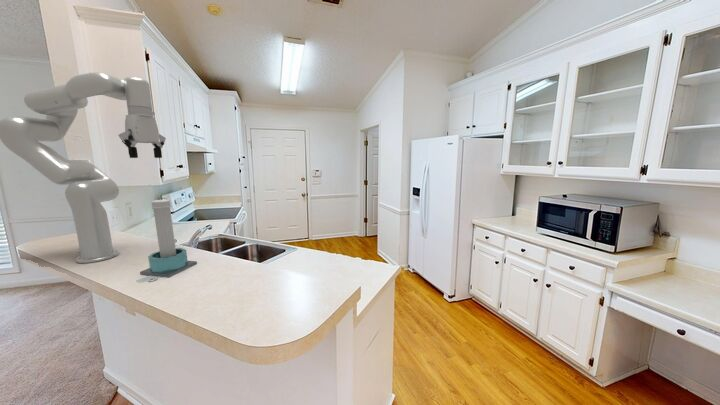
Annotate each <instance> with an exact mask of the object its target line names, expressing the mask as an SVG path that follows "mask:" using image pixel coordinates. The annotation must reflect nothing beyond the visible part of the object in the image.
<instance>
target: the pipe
mask: <svg viewBox="0 0 720 405" xmlns="http://www.w3.org/2000/svg"><path fill="white" fill-rule="evenodd" d="M149 186H151V187H152V188H153V189H154V190H155V191H156V193H157V195H158V197H159V199H155V200H152V201H151V209H152V210H153V216H154V222H155V227H156V229H155V230H156V235H157V242H158V249H159V250H158V251H160V257H161V258H163V257H170V256H174V255H176V248H177V247H176V243H175V234H174V228H173V220H172V213H171V208H172V204H171V200H170V199H162V198H161V195H160V193H159V192H158V190H157V189H156V188H155V186H152V185H151V184H149Z"/></svg>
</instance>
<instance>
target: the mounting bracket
mask: <svg viewBox="0 0 720 405" xmlns="http://www.w3.org/2000/svg"><path fill="white" fill-rule="evenodd" d="M160 278H162V277H158V276H149V275H147V276H144V277H142V278H140V279H139V278H138V279H137V280H135V282H136V283H139V284H143V283H146V282H148V283H154V282H156V281H158V279H160Z"/></svg>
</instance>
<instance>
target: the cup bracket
mask: <svg viewBox="0 0 720 405" xmlns="http://www.w3.org/2000/svg"><path fill="white" fill-rule="evenodd" d="M175 248H176V255H174V256H170V257H163V258H161V257H160V250H158V251H156V252H152V253H150V255H148V264H149V268H146V269H143V270H141V271H139V274H140V276H158V277H161V278H171V277H172V276H173V277H174V276H175V275H177V274H178V273H182V272H183V271H185V270H187V269H189V268H192V267H195V265H198V261H197V260H188V254H187V249H186V248H180V247H178V248H177V247H175Z"/></svg>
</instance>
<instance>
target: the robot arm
mask: <svg viewBox="0 0 720 405" xmlns="http://www.w3.org/2000/svg"><path fill="white" fill-rule="evenodd" d="M150 88H151V87H150V84H149V82H148V81H147V80H146V79H144V78H140V77H135V76H129V77H125V78H124V79H121V78H118V77H115V76H113V75H109V74H107V73H103V72H98V71H95V72H88V73H82V74H78V75H74V76H73V77H71V78H70V79H69V80H68V81H67V82H66V83H65V84H60V85H57V86H51V87H46V88H41V89H36V90H32V91H30V92H27V93H26V94H25V95H24V96H23V101H24V104H25V106H26V107H27V108H29V110H31V111H33V112H35V113H38V114H40V115H46V116H45V117H44V118H37V117H31V116H30V117H29V116H21V115H19V116H16V115H14V116H7V117H3V118H2V119H1V120H0V142H2V144H3V145H4V146H5V147H6V148H7V149H8V150H9V151H10V152H12V153H13V154H15V155H16V156H17V157H19V158H21V159H22V160H23V161H25V162H26V163H28V164H29V165H30V166H31V167H32V168H34V169H35V170H36V171H37V172H38V173H40V174H41V175H42V176H44V177H45V178H47V179H48V180H49V181H51V182H52V183H53V184H55V185H61V186H66V185H68V186H67V187H66V188H65V190H64V195H65V199H66V201H67V203H68V205H69V207H70V211H71V213H72V218H73V222H74V226H75V231H76V232H75V233H76V236H77V243H78V246H79V249H77V250H76V252H77V253H79V254H80V256H78V257H76V258H75V262H76V263H78V264H89V263H97V262H100V261H105V260H109V259H112V258H114V257H116V256H118V255H119V253H120V252H119V250H117V249H114V247H113V241H112V235H111V230H110V224H109V217H108V214H107V211H106V208H105V207H104V206H103V205H102V203H105V202H109V201H112V200H114V199H116V198H117V197H118V196H119V194H120V188H119V186H118V184H117V183H116V182H115V181H114V180H113V179H111V178H110V177H109V176H108V175H107V174H105V173H104V172H103V171H102V170H100V169H99V168H98V166H96V165H95V164H92V163H91V162H89V161H86V160H80V159H77V160H76V159H67V158H65V157H63V156H62V155H61V154H59V153H58V152H57V151H56V150H55V149H53V148H51V147H50V146H48V145H46V144H44V143H42V142H48V143H49V142H51V143H52V142H58V141H60V140H62V139H64V137H65V136H66V134H67V133H68V131H69V130H70V128H71V126H72V124H73V123H74V120H76V117H77V115H78V111H79V110H80V109H84V108H85V107H87V106H88V103H89V102H88V98H90V97H95V96H96V97H97V96H105V97H109V98H112V99H116V100H119V101H126V107H127V114H126V115H125V120H124V132H121V133H119V134H118V137H119V139H120V140H121V142H122V143H123V144H124V145H125V147H127V149H128V155H129V158H130V159H137V158H139V156H138V148H137V146H136V145H137V144H138V143H140V144H151V145H152V146H153V147H154V148H153V155H154V156H153V157H154V158H155V159H162V158H163V155H162V148H163V146H164V145H165V142H166V139H167V138H166V137H165V136H164V135H161V134H160V132H159V128H158V125H157V124H158V123H157V121H156V118H155V117H154V116H155V115H156V113H155V111H154V110H153V103H152V97H151V96H152V95H151V89H150Z"/></svg>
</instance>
